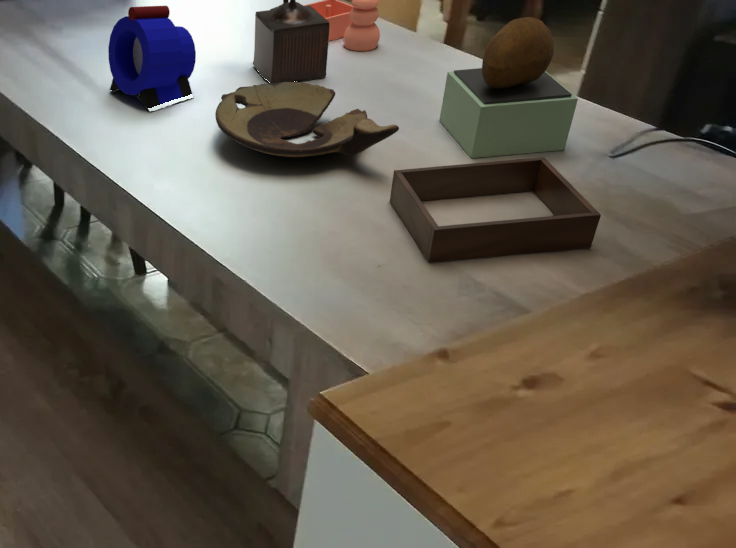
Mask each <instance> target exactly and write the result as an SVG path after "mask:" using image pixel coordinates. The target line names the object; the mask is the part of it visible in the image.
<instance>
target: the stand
mask: <svg viewBox="0 0 736 548" xmlns="http://www.w3.org/2000/svg"><path fill="white" fill-rule="evenodd" d="M444 86H445V87H444V91H443V96H442V103H441V109H440V114H439V120H438V121H439V122H440V124H441V125H443V127H444V129H446V130H447V132H448V133H449V134H450V135H451V136H452V137H453V139H454V140H455V141H456V142H457V144H458V145H459V146H460V147H461V148H462V149H463V150H464V153H466V154H467V155H468V156H469V158H470V159H476V158H489V157H501V156H511V155H522V154H535V153H545V152H557V151H565V149H566V145H567V142H568V138H569V135H570V130H571V126H572V123H573V120H574V115H575V111H576V109H577V105H578V101H579V98H578V97H577V96H576V95H575V94H574V93H572V92H571V91H570V90H569V89H568V88H566V87H565V86H563V84H561V82H559V81H558V80H557V79H555V78H554V77H553V76H552V75H551V74H550V73H549V72H548V71H547V70H546V71H545V72H544V73H543V74H542V75H541V76H540V77H539V78H538V79H537V80H535V81H532V82H530V83H527V84H518V85H515V86H512V87H508V88H502V89H495V88H491V87H490V86H488V85H487V84H486V83H485V81H484V78H483V75H482V67H479V68H468V69H466V68H465V69H455V70H452V71H447V74H446V80H445V85H444Z"/></svg>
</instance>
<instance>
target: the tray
mask: <svg viewBox="0 0 736 548" xmlns="http://www.w3.org/2000/svg"><path fill="white" fill-rule="evenodd" d="M523 192H525V193H526V192H534V194H535V195H536V196H537V197H538V198H539V199H540V200H541V202H542V203H544V205H545V206H546V207H547V208H548V209H549V210H550V211H551V212H552V214H553V215H548V216H538V217H537V216H535V217H524V218H515V219H514V218H513V219H504V220H494V221H493V220H492V221H480V222H471V223H470V222H469V223H459V224H447V225H439V224H438V223H437V222H436V220H435V219H434V218H433V216H432V214H431V213H430V212H429V210H428V209H427V208H426V206H425V204H424V203H423V202H424V201H436V200H447V199H458V198H468V197H469V198H470V197H480V196H491V195H502V194H503V195H504V194H515V193H523ZM389 203H390V204H391V205H392V207H393V209H394V210H395V212H396V213H397V215H398V216H399V218H400V220H401V221H402V223H403V224H404V226H405V228H406V229H407V231H408V232H409V234H410V235H411V237H412V238H413V240H414V241H415V243H416V245H417V246H418V248H419V249H420V251H421V253H422V254H423V256H424V258H425V259H426V261H427V262H428V263H438V262H447V261H457V260H458V261H459V260H460V261H461V260H470V259H482V258H491V257H492V258H493V257H503V256H513V255H525V254H535V253H547V252H557V251H567V250H579V249H590V248H592V245H593V243H594V239H595V235H596V233H597V229H598V227H599V223H600V221H601V220H600V219H601V216H602V214H601V213H600V212H599V211H598V210H597V209H596V208H595V207H594V206H593V205H592V204H591V203H590V202H589V201H588V200H587V199H586V198H585V197H584V195H583V194H581V193H580V192H579V191H578V190H577V188H575V187H574V185H572V184H571V183H570V181H568V180H567V178H566V177H565V176H564V175H563V174H562V173H560V171H559V170H558V169H557V168H556V167H555V166H554V165H553V164H552V163H551V162H550V161H549V160H548V159H547V158H546V157H545V156H540V157H529V158H519V159H507V160H496V161H484V162H474V163H473V162H472V163H461V164H450V165H439V166H438V165H437V166H428V167H417V168H416V167H415V168H405V169H394V170H393V174H392V182H391V189H390V195H389Z"/></svg>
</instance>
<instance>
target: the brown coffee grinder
mask: <svg viewBox="0 0 736 548" xmlns="http://www.w3.org/2000/svg"><path fill="white" fill-rule="evenodd" d="M303 5H304V4H301V3H300V2H298V1H296V0H283V1H282V3H281V4H279V5H278V6H274V7H272V8H270V9H267V10H259V11H255V13H254V17H255V20H254V48H253V50H254V51H253V61H252V65H253V67H254V66H255V67H254V69H255V68H256V69H257V70H258V71H259V73H260V74H261V75H262V76H263V77H264V78H265V79H267V80H268V81H269V82H270V83H280V82H294V81H295V82H296V81H301V82H307V81H306V80H308V81H313V80H318V79H324V78H326V77H327V66H328V55H329V54H328V53H329V42H330V41H329V27H330V24H329V22H328V21H327V20H326V19H325V18H324V17H323V16H322V15H321V14H319V13H318V12H317V11H316V10H315V9H314V8H312V7H311V6H310V5H307V4H306V5H307V6H303ZM256 69H255V70H256ZM259 73H258V74H259ZM260 74H259V75H260Z"/></svg>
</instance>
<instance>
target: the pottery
mask: <svg viewBox="0 0 736 548" xmlns="http://www.w3.org/2000/svg"><path fill="white" fill-rule="evenodd" d="M379 4H380V0H351V4H349V3H347V2H344V1H341V0H320V1H319V0H318V1H316V2H312V3H307V4H302V5H303V6H307V5H310V6H311V7H312V8H314V9H315V10H316V11H317V12H318V13H319V14H321V15H322V16H323V17H324V18H325V19H326V20H327V21H328V22H329V24H330V27H329V41H328V42H330V41H335V40H338V39H342V38H343V42H344V47H345V49H348V50H349V51H356V52H368V51H373V50H375V49H376V48H377V47H378V45H379V42H380V39H381V32H380V28H379V26H378V25H377V24H376V23H375V22H377V21H378V20H379V19H378V18H379V15H380V12H379V9H378V8H377V6H379Z"/></svg>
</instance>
